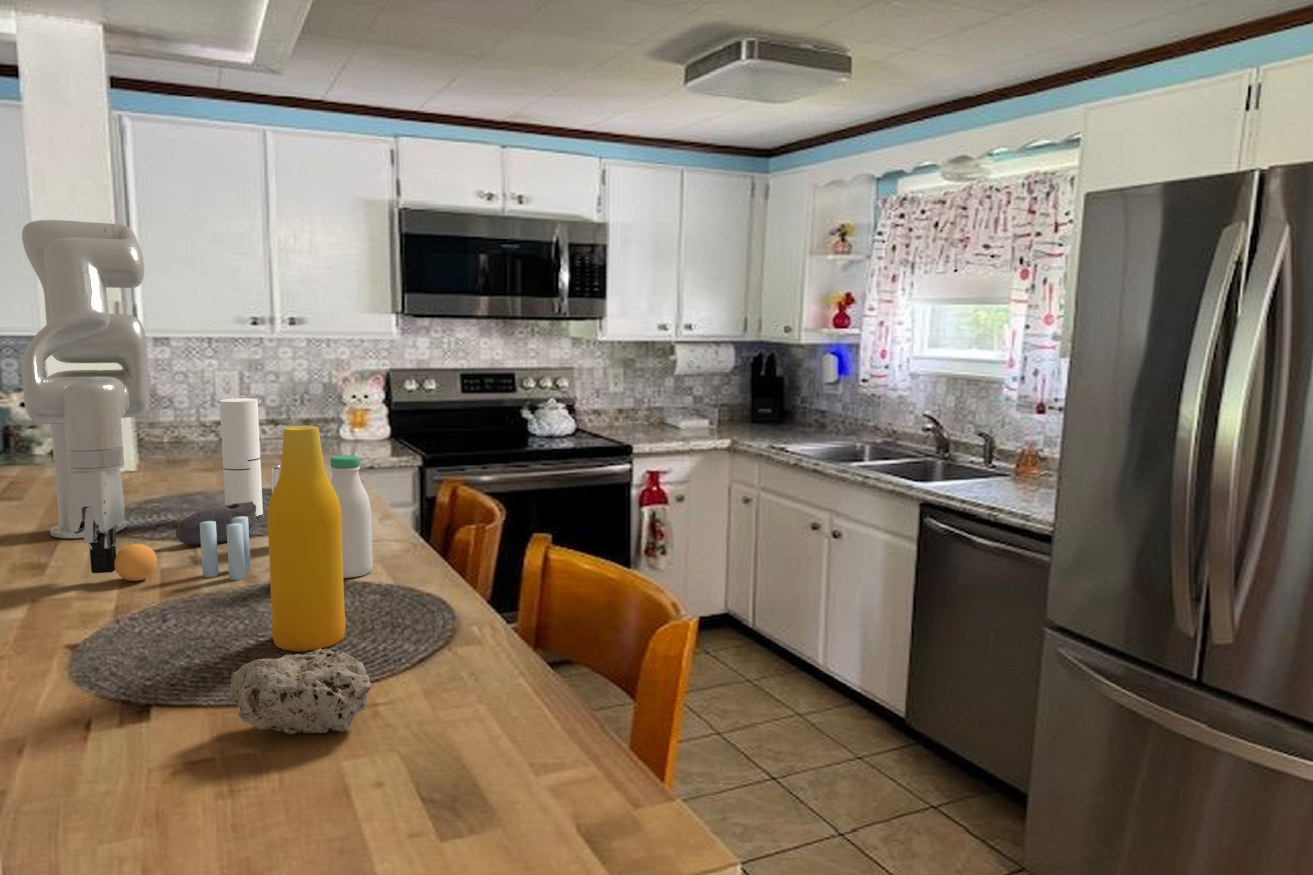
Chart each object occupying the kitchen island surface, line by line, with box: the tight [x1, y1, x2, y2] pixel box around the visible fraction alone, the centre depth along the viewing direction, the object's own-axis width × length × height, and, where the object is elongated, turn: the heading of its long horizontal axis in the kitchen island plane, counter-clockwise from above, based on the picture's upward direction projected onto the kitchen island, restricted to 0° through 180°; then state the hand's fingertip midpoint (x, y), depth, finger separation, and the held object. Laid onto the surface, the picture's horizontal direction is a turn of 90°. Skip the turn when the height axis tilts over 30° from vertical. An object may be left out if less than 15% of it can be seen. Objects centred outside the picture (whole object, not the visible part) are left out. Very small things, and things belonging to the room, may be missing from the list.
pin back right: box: [232, 516, 252, 572], centre depth 150 cm, size 2×2×9 cm
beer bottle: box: [266, 425, 347, 652], centre depth 118 cm, size 9×9×29 cm
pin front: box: [200, 521, 220, 578], centre depth 146 cm, size 2×2×9 cm
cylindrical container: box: [219, 397, 264, 517], centre depth 186 cm, size 7×7×25 cm
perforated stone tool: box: [175, 502, 256, 546], centre depth 168 cm, size 15×5×7 cm, turn 133°
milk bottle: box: [330, 454, 374, 579], centre depth 149 cm, size 8×8×20 cm
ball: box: [114, 543, 158, 582], centre depth 143 cm, size 6×6×6 cm
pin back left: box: [226, 523, 246, 581], centre depth 145 cm, size 2×2×9 cm
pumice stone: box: [228, 648, 373, 735], centre depth 95 cm, size 14×12×8 cm
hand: (104, 571), depth 142 cm, fingers closed
